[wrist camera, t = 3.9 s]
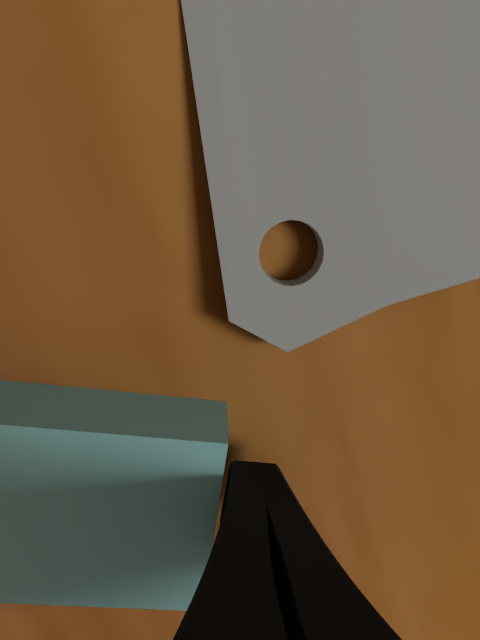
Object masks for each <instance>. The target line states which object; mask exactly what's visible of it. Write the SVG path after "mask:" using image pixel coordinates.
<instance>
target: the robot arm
mask: <svg viewBox="0 0 480 640" xmlns="http://www.w3.org/2000/svg"><path fill="white" fill-rule="evenodd" d="M173 640H402V639H401V638H400V637H399V636H398V635H397V634H396V633H395V632H394V630H393V629H392V628H391V627H390V626H389V625H388V624H387V622H386V621H385V620H384V619H383V618H382V617H381V616H380V614H379V613H378V612H377V611H376V610H375V608H374V607H373V606H372V605H371V604H370V602H369V601H368V600H367V599H366V598H365V596H364V595H363V594H362V593H361V591H360V590H359V589H358V588H357V586H356V585H355V584H354V582H353V581H352V580H351V579H350V577H349V576H348V575H347V573H346V572H345V571H344V569H343V568H342V566H341V565H340V564H339V562H338V561H337V560H336V558H335V557H334V555H333V554H332V553H331V551H330V550H329V548H328V547H327V545H326V544H325V543H324V541H323V540H322V538H321V537H320V535H319V533H318V532H317V530H316V529H315V527H314V526H313V524H312V523H311V521H310V520H309V518H308V517H307V515H306V513H305V512H304V510H303V509H302V507H301V505H300V504H299V502H298V500H297V499H296V497H295V495H294V493H293V492H292V490H291V488H290V487H289V485H288V483H287V481H286V479H285V478H284V476H283V474H282V472H281V470H280V469H279V467H278V466H277V465H276V464H271V463H259V462H247V461H236V460H235V461H233V462H232V463H230V466H229V472H228V477H227V483H226V489H225V494H224V500H223V506H222V512H221V518H220V527H219V531H218V534H217V536H216V539H215V542H214V545H213V548H212V551H211V553H210V556H209V559H208V562H207V564H206V567H205V569H204V572H203V574H202V577H201V579H200V582H199V584H198V586H197V589H196V591H195V593H194V596H193V598H192V600H191V603H190V605H189V607H188V609H187V611H186V613H185V615H184V617H183V620H182V622H181V624H180V626H179V628H178V630H177V632H176V634H175V636H174V638H173Z"/></svg>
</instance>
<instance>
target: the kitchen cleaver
mask: <svg viewBox="0 0 480 640" xmlns="http://www.w3.org/2000/svg"><path fill="white" fill-rule="evenodd" d="M181 4H182V11H183V17H184V24H185V31H186V38H187V44H188V51H189V58H190V64H191V71H192V78H193V85H194V91H195V98H196V105H197V111H198V118H199V125H200V132H201V138H202V145H203V152H204V158H205V165H206V172H207V179H208V185H209V192H210V199H211V205H212V212H213V219H214V226H215V232H216V239H217V246H218V252H219V259H220V266H221V273H222V279H223V286H224V293H225V299H226V306H227V313H228V320H229V322H231V323H233V324H235V325H237V326H239V327H241V328H243V329H245V330H246V331H248V332H250V333H252V334H254V335H256V336H258V337H260V338H262V339H263V340H265V341H267V342H269V343H271V344H273V345H275V346H277V347H279V348H280V349H282V350H284V351H286V352H290V351H292V350H294V349H296V348H298V347H300V346H302V345H305V344H307V343H309V342H311V341H313V340H315V339H317V338H319V337H321V336H324V335H326V334H328V333H330V332H332V331H334V330H336V329H338V328H340V327H343V326H345V325H347V324H349V323H351V322H353V321H355V320H357V319H359V318H361V317H364V316H366V315H368V314H370V313H372V312H374V311H376V310H378V309H380V308H383V307H385V306H387V305H390V304H394V303H397V302H400V301H404V300H407V299H411V298H414V297H417V296H421V295H424V294H427V293H431V292H434V291H438V290H441V289H444V288H448V287H451V286H454V285H458V284H461V283H465V282H468V281H471V280H475V279H478V278H480V0H181ZM288 220H296V221H301V222H303V223H305V224H306V225H307V226H308V227H309V228H310V229H312V231H313V233H314V235H315V237H316V238H317V245H318V252H317V258H316V260H315V262H314V264H313V266H312V267H311V268H310V269H309V270H308V272H307V273H306V274H304V275H302V276H301V277H299V278H297V279H293V280H278V279H276V278H273V277H271V276H269V275H268V274H267V273H266V272H265V271H264V270H263V269H262V267H261V265H260V260H259V247H260V244H261V241H262V239H263V237H264V235H265V234H266V233H267V232H268V231H269V229H270V228H272V227H273V226H275V225H276V224H278V223H280V222H284V221H288Z"/></svg>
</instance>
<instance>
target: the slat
mask: <svg viewBox="0 0 480 640" xmlns="http://www.w3.org/2000/svg"><path fill="white" fill-rule="evenodd" d="M227 450H228V421H227V402H226V401H215V400H205V399H194V398H184V397H173V396H163V395H152V394H142V393H131V392H121V391H110V390H100V389H89V388H79V387H68V386H57V385H47V384H36V383H26V382H15V381H5V380H0V603H14V604H39V605H63V606H87V607H112V608H136V609H161V610H185V611H187V609H188V607H189V605H190V603H191V600H192V598H193V596H194V593H195V591H196V589H197V586H198V584H199V582H200V579H201V577H202V574H203V572H204V569H205V567H206V564H207V562H208V559H209V556H210V553H211V548H212V542H213V536H214V530H215V524H216V518H217V511H218V505H219V499H220V493H221V487H222V481H223V474H224V468H225V462H226V456H227Z"/></svg>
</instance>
